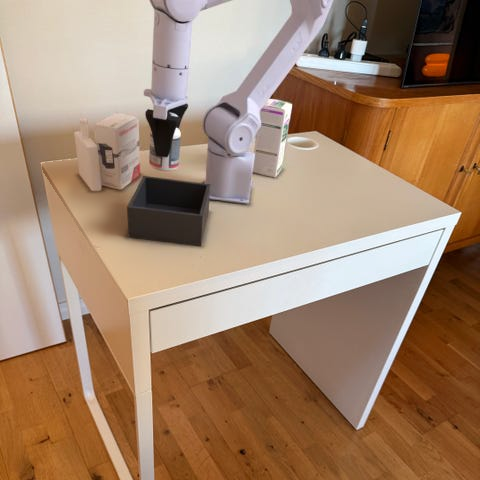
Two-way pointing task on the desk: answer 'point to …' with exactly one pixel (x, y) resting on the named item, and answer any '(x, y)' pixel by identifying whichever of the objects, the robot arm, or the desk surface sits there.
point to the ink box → (118, 149)
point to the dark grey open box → (169, 210)
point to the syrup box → (272, 137)
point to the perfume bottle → (87, 157)
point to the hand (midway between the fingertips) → (165, 150)
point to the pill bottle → (173, 158)
